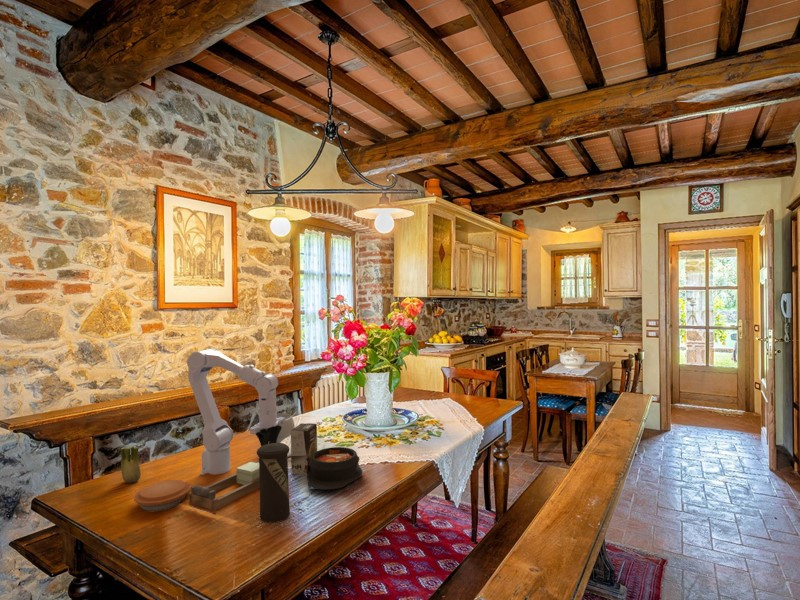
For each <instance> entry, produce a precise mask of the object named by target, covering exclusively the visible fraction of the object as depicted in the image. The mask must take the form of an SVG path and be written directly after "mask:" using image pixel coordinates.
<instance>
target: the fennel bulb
mask: <svg viewBox="0 0 800 600" xmlns="http://www.w3.org/2000/svg"><path fill="white" fill-rule="evenodd" d="M120 458H121V459H120V470H121V475H122V479H123V482H124V483H125V484H132V483H135V482H138V480H140V478H141V473H142V472H141V465H140V462H139V447H138V446H134V445H132V446H131V447H130V446H129V447H121V448H120Z"/></svg>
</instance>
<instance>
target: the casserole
mask: <svg viewBox="0 0 800 600" xmlns="http://www.w3.org/2000/svg"><path fill="white" fill-rule="evenodd" d="M359 462H360V457H359V455H358V453H357V451H356V450H354V449H352V448H349V447H344V446H342V447H341V446H336V447H335V446H334V447H326V448H323V449H319V450H317V452H315V453H314V454H313V455H312V458H311V460H310V461H309V465H310V466H311V470H310V471H309V472H308V474H307V475H306V478H307V481H308V482H307V486H308V487H309V488H312V489H315V490H321V491H322V490H323V491H324V490H327V491H328V490H329V491H330V490H338V489H342V488H344V487H345V486H347V485H349V484H350V483H351V482H353V481H355V480H357V479H358V478H360V477H361V476H362V474H363V470H362V468H361V466H360V465H359Z"/></svg>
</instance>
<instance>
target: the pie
mask: <svg viewBox="0 0 800 600" xmlns="http://www.w3.org/2000/svg"><path fill="white" fill-rule="evenodd" d="M191 487H192V484H190V483H189V482H187V481H183V480H181V479H180V480H179V479H167V480H162V481H158V482H154V483H151V484H148V485H147V486H145V487H143V488H141V489H140V490H138V491H137V492H136V493H135V494H134V496H133V501H134V502H135V503H137V504H138V505H139V507H140V508H141V509H142V510H143V511H145V510H146V511H145V512H149V511H156V512H162V511H161V510H163V511H166V510H165V509H167V510H169V509H168V508H170V509H173V508H174V506H175V507H177V506H179V505H180V504H182V501H183V500H184V499H185V498H186V497H187V494H189V493H190V492H191ZM178 504H179V505H178ZM176 505H177V506H176ZM172 507H173V508H172Z"/></svg>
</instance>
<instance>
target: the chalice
mask: <svg viewBox="0 0 800 600" xmlns="http://www.w3.org/2000/svg"><path fill="white" fill-rule="evenodd" d="M276 415H277V418H279V417H285V423H281V424H279V426H281V427H282V429H281V431H280V433H279V435H278V438H277V442H276V443H282V442H283V441H284V440H285V439H287V438H289V437H291V430H292V429H294V428H295V427H296V426H295V421H294V419H293V417H292V415H291V414H289V413H281V412H280V413H277V412H276ZM258 423H260V422H258ZM266 430H267V429H266ZM289 457H291V449H289V452H288V454H287V458H289Z"/></svg>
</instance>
